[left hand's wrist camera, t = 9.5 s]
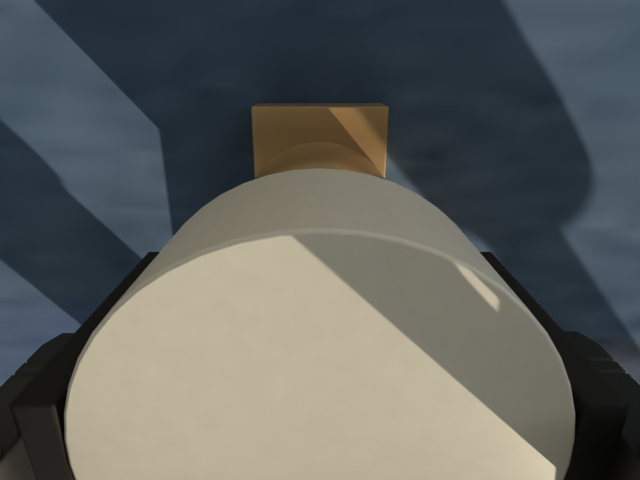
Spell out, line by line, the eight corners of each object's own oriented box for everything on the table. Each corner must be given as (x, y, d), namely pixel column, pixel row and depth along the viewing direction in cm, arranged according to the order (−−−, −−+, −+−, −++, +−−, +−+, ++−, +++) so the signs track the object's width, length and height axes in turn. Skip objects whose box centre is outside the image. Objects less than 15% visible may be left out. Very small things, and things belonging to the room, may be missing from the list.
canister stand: (246, 103, 21) (161, 144, 10) (393, 103, 21) (478, 144, 10) (270, 513, 31) (243, 763, 20) (368, 513, 31) (396, 762, 20)
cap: (518, 167, 10) (640, 228, 6) (468, 462, 13) (527, 618, 9) (120, 167, 10) (-1, 229, 6) (170, 462, 13) (111, 619, 9)
